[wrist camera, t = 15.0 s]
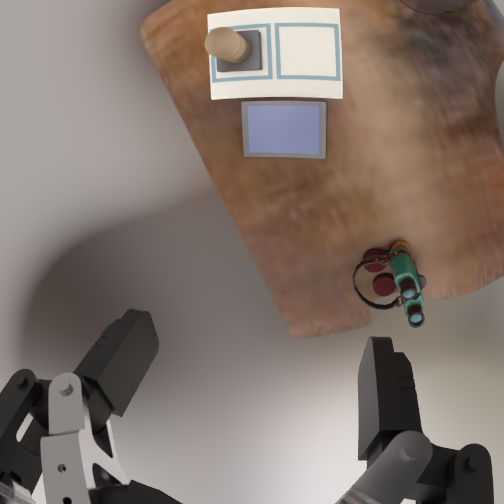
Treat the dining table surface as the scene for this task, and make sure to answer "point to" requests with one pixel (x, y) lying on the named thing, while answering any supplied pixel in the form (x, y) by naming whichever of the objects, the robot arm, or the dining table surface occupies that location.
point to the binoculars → (396, 280)
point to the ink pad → (284, 129)
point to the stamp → (235, 49)
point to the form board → (284, 54)
